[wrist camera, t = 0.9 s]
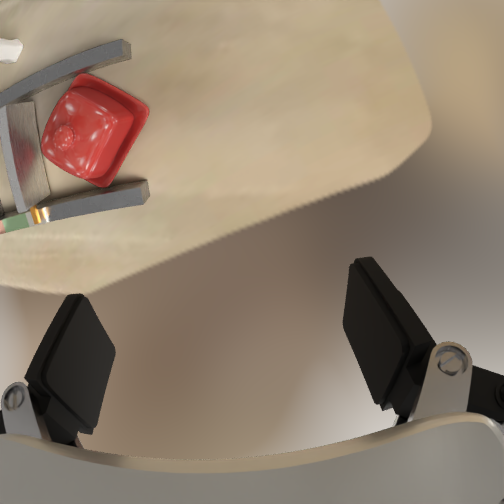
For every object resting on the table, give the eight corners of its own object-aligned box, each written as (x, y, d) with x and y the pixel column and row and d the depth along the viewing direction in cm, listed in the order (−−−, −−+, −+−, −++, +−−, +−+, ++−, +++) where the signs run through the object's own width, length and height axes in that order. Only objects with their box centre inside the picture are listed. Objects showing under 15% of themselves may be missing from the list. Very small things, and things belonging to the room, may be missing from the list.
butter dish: (84, 68, 24) (46, 64, 16) (157, 109, 28) (134, 111, 20) (45, 149, 28) (6, 165, 20) (111, 190, 32) (82, 216, 24)
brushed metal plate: (25, 105, 23) (-3, 110, 18) (33, 101, 23) (5, 105, 18) (47, 212, 31) (24, 232, 26) (55, 210, 31) (32, 230, 26)
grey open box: (-27, 117, 22) (-52, 124, 17) (130, 43, 23) (111, 33, 18) (-3, 228, 31) (-23, 246, 26) (150, 195, 32) (136, 214, 27)
